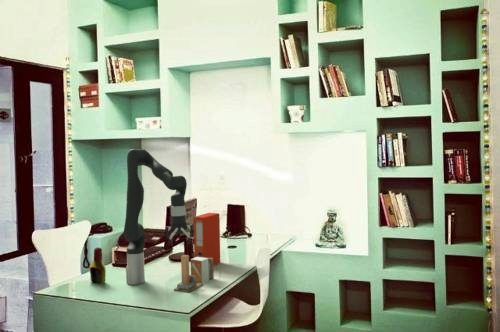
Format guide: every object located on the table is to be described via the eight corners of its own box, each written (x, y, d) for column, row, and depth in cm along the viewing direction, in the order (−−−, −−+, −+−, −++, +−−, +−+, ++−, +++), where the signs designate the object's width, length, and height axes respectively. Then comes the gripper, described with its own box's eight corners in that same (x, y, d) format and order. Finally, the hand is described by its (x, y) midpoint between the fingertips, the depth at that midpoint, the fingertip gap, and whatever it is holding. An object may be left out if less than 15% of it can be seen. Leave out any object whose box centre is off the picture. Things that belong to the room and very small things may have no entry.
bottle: (109, 283, 270) (107, 248, 268) (99, 285, 265) (97, 250, 264) (97, 279, 278) (96, 245, 276) (87, 281, 273) (86, 247, 272)
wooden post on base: (177, 288, 253) (176, 256, 252) (185, 283, 261) (184, 252, 260) (188, 289, 251) (187, 257, 250) (196, 285, 258) (195, 254, 257)
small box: (190, 281, 268) (190, 259, 267) (198, 278, 273) (197, 256, 273) (202, 284, 264) (201, 260, 263) (209, 281, 269) (208, 258, 268)
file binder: (220, 262, 307) (219, 213, 305) (205, 269, 292) (203, 217, 290) (210, 261, 311) (208, 212, 309) (194, 268, 296) (193, 216, 294)
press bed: (173, 290, 253) (173, 268, 252) (198, 277, 277) (197, 256, 276) (190, 292, 249) (189, 270, 248) (213, 278, 273) (213, 258, 272)
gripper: (192, 212, 253) (193, 242, 253) (164, 214, 251) (166, 245, 251) (192, 214, 245) (194, 245, 246) (164, 216, 243) (166, 248, 244)
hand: (180, 245), depth 249 cm, fingers open, 8 cm apart
